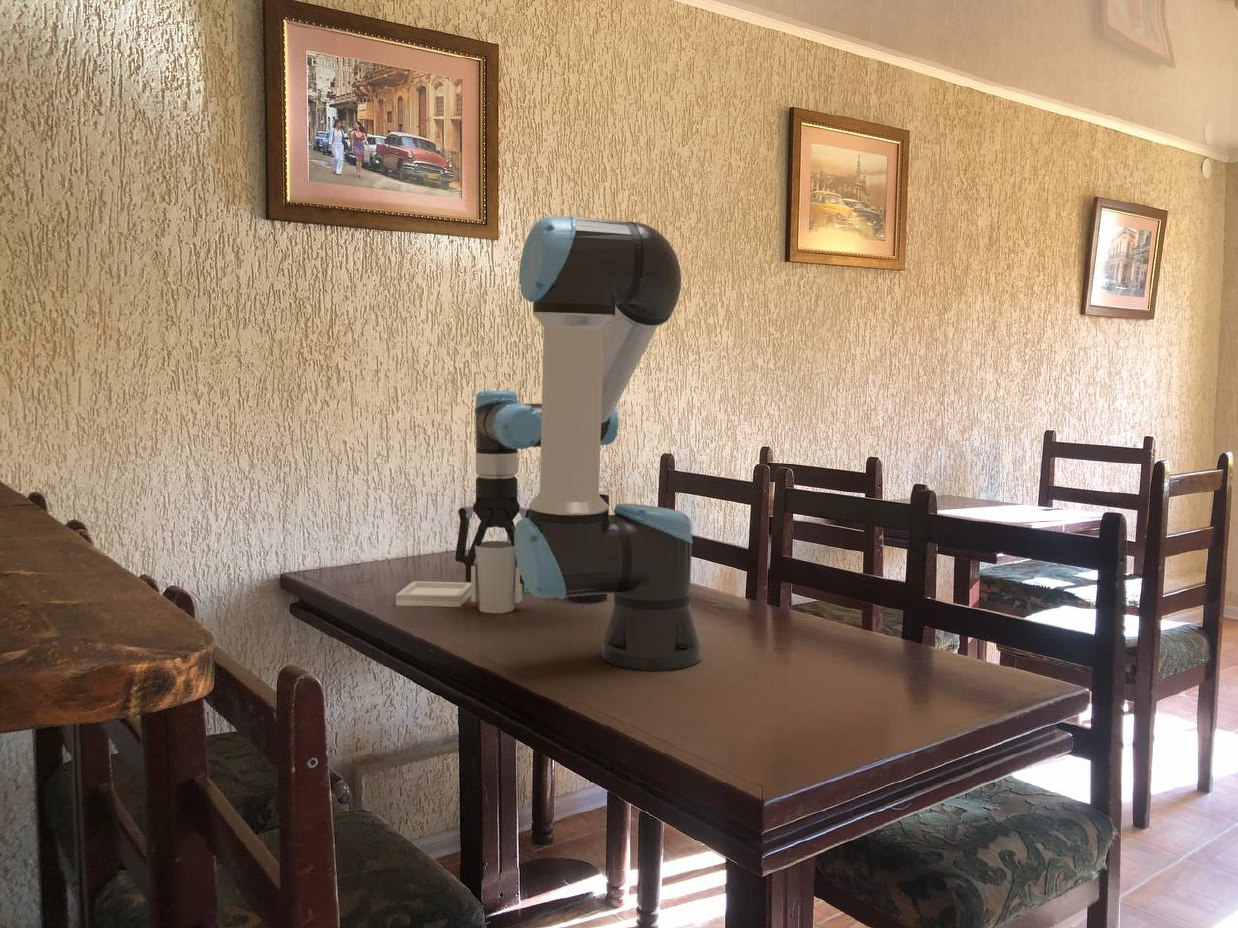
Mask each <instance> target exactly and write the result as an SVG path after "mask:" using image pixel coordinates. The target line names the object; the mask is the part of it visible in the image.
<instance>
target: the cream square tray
mask: <svg viewBox="0 0 1238 928" xmlns="http://www.w3.org/2000/svg"><path fill="white" fill-rule="evenodd" d="M469 598H471V582H463V581H462V582H455V581H422V580H421V581H418V580H417V581H412V582H410V583H409V584H408V585H406V586H405V587H404V588H403V589H401V590H400V591H399V592H398V593H396V594H395V606H403V607H404V606H405V607H406V606H408V607H409V606H410V607H445V608H446V607H448V608H461V607H462V605H464V603H465V602H466V601H467V600H468V599H469Z"/></svg>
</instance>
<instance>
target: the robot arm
mask: <svg viewBox="0 0 1238 928" xmlns="http://www.w3.org/2000/svg"><path fill="white" fill-rule="evenodd" d="M518 272H519V274H518V275H519V276H518V279H519V280H518V281H519V285H520V288H519V289H520V293H521V296H522V298H523V299H524V300H525V301H528V302H530V303H533V305H532V308H533V309H532V315H533V316H534V317H535V318H536V320H537V321H539V323H540V324H541V325H542V327H543V336H542V337H543V338H542V379H541V380H542V381H541V382H542V383H541V403H540V402H539V403H537V402H536V403H535V402H534V403H529V402H526V403H523V402H519V401H518V394H517V393H516V392H515V391H513V390H480V391H479V392H477V394H476V396H475V397H476V398H475V399H476V400H475V408H474V413H475V473H476V475H478V477H476V478H475V501H474V504H473V505H472V506H461V507H460V508H459V509H458V517H459V527H458V535H457V536H458V537H457V542H456V543H457V544H456V549H455V558H454V559H455V562H457V563H461V564H463V565H464V566H465V583H471V596H470V602H472V603H474V602H477V600H479V593H478V580H477V567H476V555H475V545H477V546H479V547H480V545H481V543H482V542H483V540H484V537H485V535H486V532H487V530H488V529H489V528H499V529H504V530H505V532H506V535H507V534H508V536H509V539H510V541H511V544H512V546H515V554H516V559H517V564H518V565H517V566H516V567H515V596H514V604H515V603H518V604H519V603H521V602H522V600H523V593H522V584H525V586H526V587H527V589H528V590H529V591H530V592H531V593H530V594H531V595H533V596H535V597H537V598H540V599H553V598H554V599H555V598H557V599H561V600H562V599H566V598H570V597H573V596H584V595H596V594H607V595H608V594H614V595H613V608H612V611H611V614H610V618H609V621H608V623H607V625H606V626H607V627H606V630H605V633H604V636H603V639H602V642H601V656H602V658H603V660H604V661H606V662H607V663H609V664H612V665H614V666H617V667H622V668H626V669H630V670H633V669H634V670H641V671H668V670H677V669H682V668H686V667H691V666H693V665H695V664H697V663H699V661H700V660H701V658H702V655H701V654H702V653H701V652H702V644H701V639H700V636H699V633H698V630H697V626H696V623H695V620H694V617H693V614H692V609H691V586H692V585H691V582H692V579H691V578H692V575H691V574H692V545H693V543H694V541H693V538H692V537H693V536H692V534H693V533H692V523H691V520H690V517H689V516H688V515H687V514H686V513H684V512H683V511H679V510H675V509H672V508H666V507H660V506H653V505H647V504H646V505H645V504H637V503H617V504H616V505H615V507H614V509H613V513H614V514H610V505H609V506H608V504H607V503H606V502H605V501H604V500H603V499H602V498H601V497H600V495H599V494H600V472H601V470H600V469H601V465H600V464H601V462H600V461H601V446H608V445H610V444H612V443H614V441H615V440H616V438H617V436H618V430H619V424H620V423H619V415H618V412H617V411H618V410H617V409H616V407H617V405H618V403H619V402H620V399H621V397H622V395H623V393H624V391H625V389H626V387H627V386H628V384H629V382H630V380H631V379H632V377H633V374H634V372H635V370H636V369H637V368H638V365H639V362H640V361H641V358H642V357H643V356H644V353H645V352H646V349H647V347H648V345H650V342H651V339H652V338H653V336H654V334H655V332H656V330H657V328H658V327H659V326H662V325H664V324H665V323H667V322H668V321H669V319H670V318H671V316H672V314H673V312H674V309H675V308H676V306H677V304H678V301H679V298H680V293H681V289H682V271H681V266H680V263H679V260H678V256H677V254H676V252H675V249H674V248H673V246H672V245H671V243H670V242H669V240H668V239H667V238H666V236H664V235H663V234H662V233H660V231H659V230H657V229H655V228H653V227H652V226H650V225H647V224H645V223H641V222H639V221H638V222H636V221H619V220H610V219H609V220H608V219H601V218H600V219H599V218H588V217H579V216H572V215H571V216H569V215H568V216H546V217H542V218H541V219H539V220H537V221H536V223H535V224H533V226H532V227H531V228H530V231H529V232H528V235H527V237H526V240H525V242H524V245H523V247H522V253H521V258H520V263H519V271H518ZM528 448H540V461H539V462H540V464H539V465H540V468H539V470H540V471H539V472H540V473H539V493H538V494H537V495H536V496H535V498H533V500H531V501H530V502H529V504H528V507H523V506H521V505H520V503H519V499H518V498H519V497H518V478H517V477H516V476H515V475H517V474H518V472H519V471H518V465H519V464H518V459H519V458H518V457H519V456H518V451H519V450H524V449H528ZM473 513H474V514H476V516H477V518H478V519H479V520H480V521H479V522H480V523H479V525H478V527H477V531H476V533H475V536H474V539H473V540H472V543H471V546H470V548H469V551H468V553H467V555H466V549H467V542H468V541H467V540H468V533H469V528H470V526H469V525H470V519H471V518H472V517H473ZM518 514H520V516H521V519H519V520H518V521H517V522H516V523H517V524H516V528H515V525H514V523H515V522H514V520H515V518H516V516H517V515H518Z"/></svg>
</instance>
